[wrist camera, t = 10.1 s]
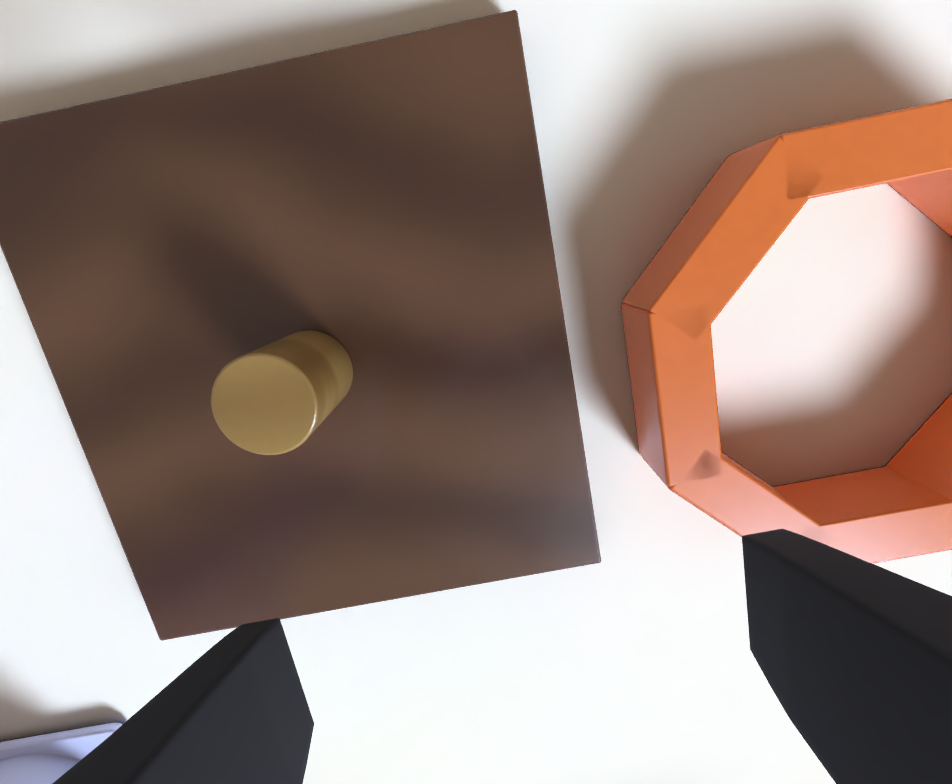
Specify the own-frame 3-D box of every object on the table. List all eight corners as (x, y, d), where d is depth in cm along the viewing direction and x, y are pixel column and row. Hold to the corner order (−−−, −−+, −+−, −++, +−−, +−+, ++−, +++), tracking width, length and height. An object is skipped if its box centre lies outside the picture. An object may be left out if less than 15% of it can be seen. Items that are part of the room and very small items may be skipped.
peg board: (594, 546, 18) (637, 646, 14) (175, 622, 19) (78, 742, 14) (514, 25, 14) (535, -88, 10) (-14, 139, 15) (-235, 85, 10)
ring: (1011, 486, 18) (1101, 524, 15) (651, 550, 18) (680, 598, 16) (1036, 90, 15) (1152, 57, 12) (604, 179, 15) (631, 164, 13)
